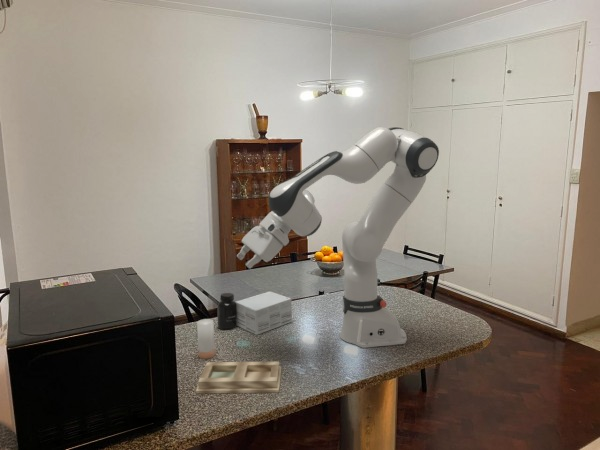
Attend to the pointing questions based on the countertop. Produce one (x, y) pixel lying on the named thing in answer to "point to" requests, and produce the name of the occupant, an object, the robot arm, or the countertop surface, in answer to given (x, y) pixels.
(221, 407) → the countertop surface
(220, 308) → the supplement bottle
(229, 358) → the countertop surface
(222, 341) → the countertop surface
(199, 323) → the white dome lamp
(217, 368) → the two-pocket rack
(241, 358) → the countertop surface
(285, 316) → the supplement box
